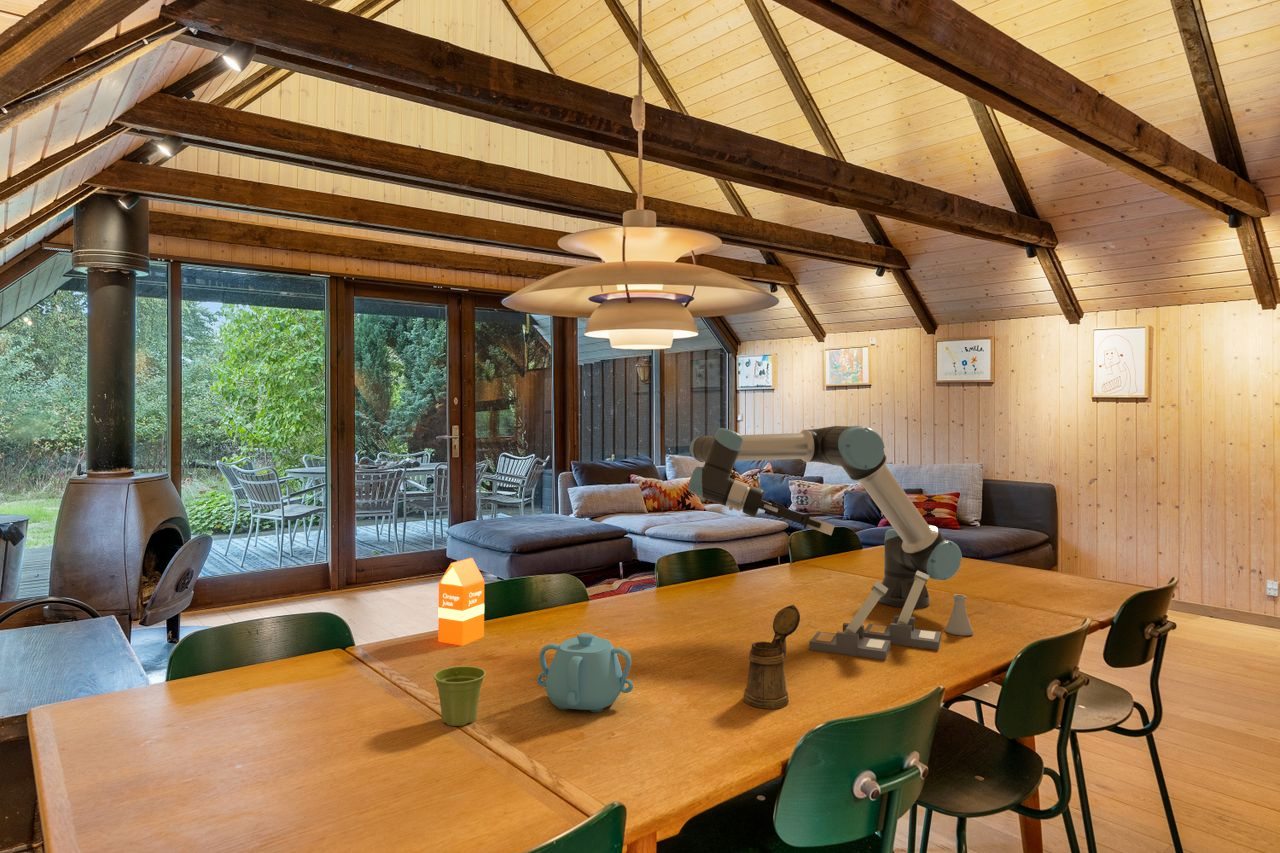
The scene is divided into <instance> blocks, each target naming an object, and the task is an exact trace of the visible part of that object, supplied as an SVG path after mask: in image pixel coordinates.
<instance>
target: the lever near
mask: <svg viewBox="0 0 1280 853" xmlns="http://www.w3.org/2000/svg"><path fill="white" fill-rule="evenodd" d="M887 590H888V588H887V587H885V586H884V585H882V582H880V581H878V580H876V581H875V583H874V584H873V586H872V588H871V592H870V593H869V595H868V596H867V598H866V599H865V601H864V602H863V603H862V605H861V606H860V608H859V609H858V610H857V612H856V613H855V615H854V616H853V617H852V619H851V620H850V622H848V623H849V625H848V626H847V628H846V629H845V631H844V632H848V633H856V632H857V630H858V629H859V628H860V626H861V625H863V623H864V622H865V620H866V619H867V617H869V615H870V613H872V611H873V609H874V607H875V606H876V605H877V603H879V599H880V598H881V597H882V598H883V597H884V595H885V594H886V592H887Z"/></svg>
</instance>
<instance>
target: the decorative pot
mask: <svg viewBox="0 0 1280 853" xmlns="http://www.w3.org/2000/svg"><path fill="white" fill-rule="evenodd" d="M548 650H556V652H555V654H554V656H553V658H552V660H551V663H550V665H549V666H548V663H547V660H546V652H547V651H548ZM538 655H539V657H538V658H539V663H540V666H541V669H542V672H540V673H539V674H538V675H537V678H536V682H537V685H539V686H540V687H543V688H545V691H546V692H545V693H546V695H547V697H548V699H549V700H550V702H551V703H552V705H554V706H556V707H557V709H559V710H564V711H565V710H569V709H570V710H578V711H579V710H580V711H581V710H582V711H583V710H584V711H590V712H592V713H601V712H603V711H604V708H608V707H610V705H612V704H613V703H614V702H616V700H617V699H618V697H619V696H620V694H621V693H623V694H628V693H630V692H632V691H633V688H634V683H633V681H632V680H631V679H629V678H628V679H627V677H628V675H629V673H630V670H631V666H632V656H631V654H630V653H629V652H628V651H627V650H626V649H624V648H622V647H614V646H613V644H612V642H611V641H610V640H609V639H606V638H601V637H599V636H597V635H594V634H593V633H590V632H581V633H578V634H576V637H570V638H567V639H565V640H564V641H562V642H561V643H560V644H557V643H548V644H546V645H544V646H543V647H542V648H541V650H540V651H539V654H538ZM618 655H620V656H622V657H624V659H625V666H624V669H623V671H622V667H621V664H620V660H619V657H618ZM543 677H545V678H544V679H545V680H543V679H542V678H543ZM625 684H627V685H628V687H626V686H625Z"/></svg>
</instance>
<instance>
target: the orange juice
mask: <svg viewBox="0 0 1280 853" xmlns="http://www.w3.org/2000/svg"><path fill="white" fill-rule="evenodd" d="M483 577H484V576H482V574H481V571H480V570H479V568H478V566H477V564H476V562H475V561H474V558H473V557H469V558H466V559H465V558H464V559H461V560H457V561H454V562H450V564H449V566H448V568H447V569H446V571H445V572H444V575H443V576H442V578H441V579H440V581H439V582H438V607H437V608H438V612H437V613H438V614H437V616H438V620H437V621H438V622H437V624H438V627H437V628H438V630H437V631H438V632H437V637H438V638H437V639H438V640H437V641H438V642H439V643H446V644H452V645H456V646H457V645H458V646H463V647H464V646H465V645H468V644H470V643H471V642H474V641H477V640H480V639H481V638H483V637H484V636H485V580H484V578H483Z"/></svg>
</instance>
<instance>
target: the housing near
mask: <svg viewBox="0 0 1280 853" xmlns="http://www.w3.org/2000/svg"><path fill="white" fill-rule="evenodd" d="M849 623H850V622H843V624H842V631H838V630H837V632H836V633H835V632H833V633H832V632H828V631H827V632H825V631H820V630H818V631H817V632H816V633H815V634H814V635H813V637H812V638H811V639H810V640H809V650H811V651H818V652H824V653H825V652H826V653H832V654H838V655H846V656H851V657H852V656H853V657H860V658H868V659H869V658H870V659H875V660H884V661H886V660H887V658H888V655H889V653H890V652H891V649H892V646H891V645H892V644H891V641H890V640H882V639H874V638H867V637H864V631H865V625H864V624H862V625H861V626H860V628H859V629H858V630H857V632H856V633H848V632H844V631H845V629H846V628H847V626H848V625H849Z"/></svg>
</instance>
